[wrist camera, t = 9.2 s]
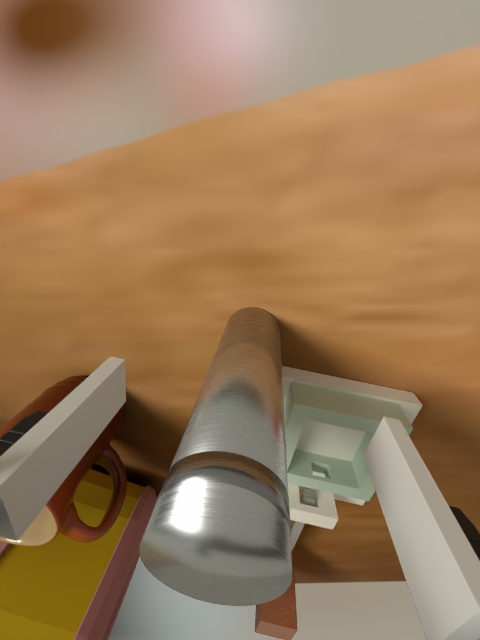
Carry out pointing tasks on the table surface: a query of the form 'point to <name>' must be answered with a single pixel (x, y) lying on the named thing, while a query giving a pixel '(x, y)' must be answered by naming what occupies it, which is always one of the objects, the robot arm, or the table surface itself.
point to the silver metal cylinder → (229, 479)
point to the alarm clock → (75, 570)
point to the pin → (281, 611)
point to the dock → (334, 438)
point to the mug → (73, 479)
